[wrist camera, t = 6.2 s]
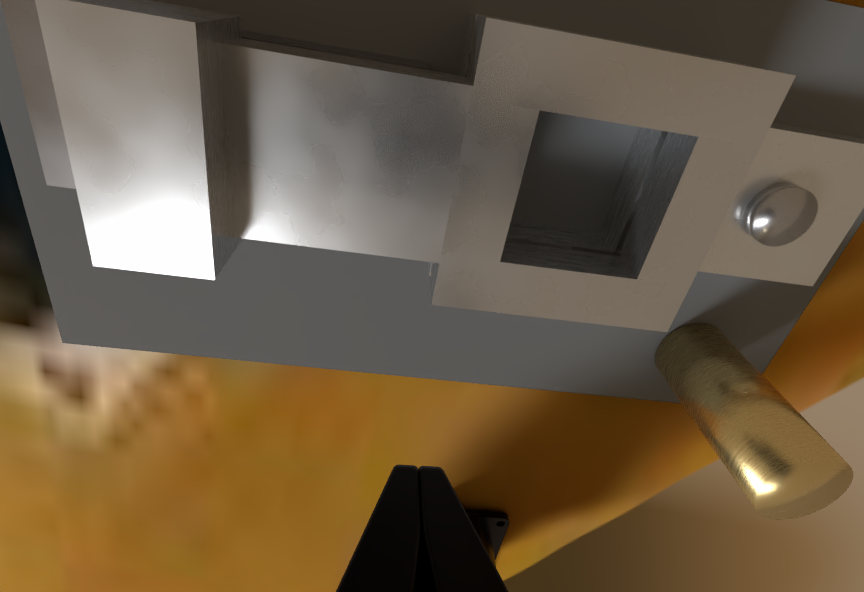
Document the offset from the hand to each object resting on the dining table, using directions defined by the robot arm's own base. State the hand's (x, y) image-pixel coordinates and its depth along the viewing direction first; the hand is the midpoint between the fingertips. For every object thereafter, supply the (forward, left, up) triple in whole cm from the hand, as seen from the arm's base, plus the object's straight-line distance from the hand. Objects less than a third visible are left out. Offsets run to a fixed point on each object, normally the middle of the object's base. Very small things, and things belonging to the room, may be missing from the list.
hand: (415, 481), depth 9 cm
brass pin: (-4, -13, -11) cm, 17 cm away
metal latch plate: (+3, 0, -9) cm, 9 cm away
